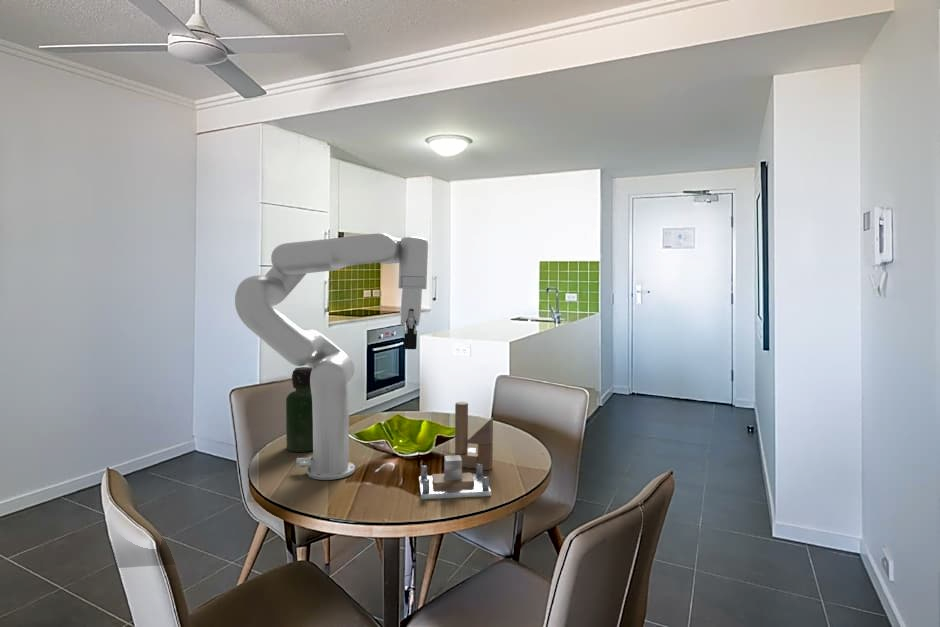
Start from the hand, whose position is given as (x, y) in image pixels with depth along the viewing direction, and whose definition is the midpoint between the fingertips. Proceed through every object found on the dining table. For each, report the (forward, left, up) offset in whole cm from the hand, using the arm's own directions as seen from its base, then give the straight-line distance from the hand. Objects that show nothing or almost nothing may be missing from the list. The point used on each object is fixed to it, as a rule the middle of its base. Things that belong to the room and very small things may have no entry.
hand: (410, 346), depth 143 cm
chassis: (+11, -13, -35) cm, 38 cm away
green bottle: (-32, +25, -35) cm, 54 cm away
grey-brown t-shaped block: (+10, -13, -33) cm, 37 cm away
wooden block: (+18, +2, -35) cm, 39 cm away
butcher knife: (+17, +10, -35) cm, 40 cm away
